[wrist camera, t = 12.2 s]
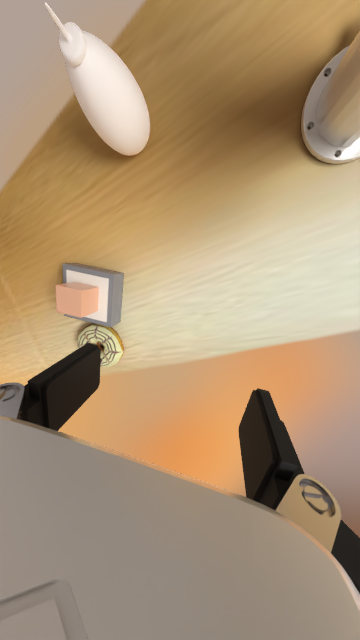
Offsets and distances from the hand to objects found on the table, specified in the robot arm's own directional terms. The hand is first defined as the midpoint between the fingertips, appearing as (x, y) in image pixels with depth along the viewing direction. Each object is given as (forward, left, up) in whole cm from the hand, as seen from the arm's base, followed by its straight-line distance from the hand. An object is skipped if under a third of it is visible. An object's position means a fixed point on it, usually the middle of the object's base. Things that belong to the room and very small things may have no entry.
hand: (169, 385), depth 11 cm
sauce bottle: (-24, -17, -28) cm, 41 cm away
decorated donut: (+16, -21, -29) cm, 39 cm away
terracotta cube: (+4, -23, -24) cm, 33 cm away
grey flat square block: (+4, -23, -28) cm, 37 cm away
